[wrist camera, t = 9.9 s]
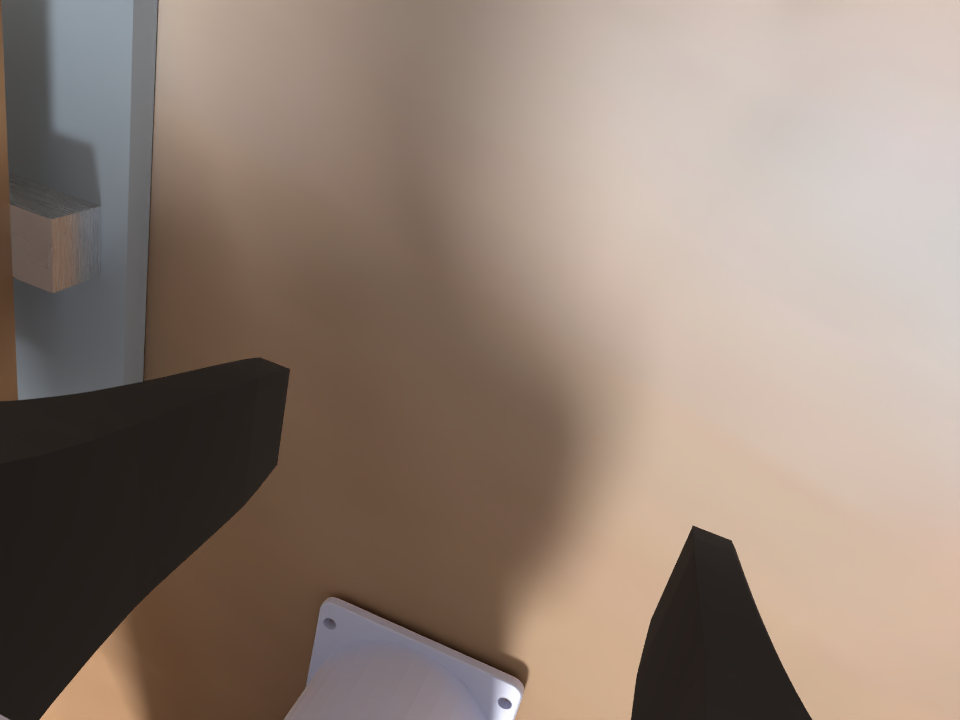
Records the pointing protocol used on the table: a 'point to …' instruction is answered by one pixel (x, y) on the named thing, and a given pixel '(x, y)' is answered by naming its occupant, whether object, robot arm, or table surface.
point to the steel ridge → (53, 236)
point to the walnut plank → (6, 258)
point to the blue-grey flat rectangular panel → (84, 180)
